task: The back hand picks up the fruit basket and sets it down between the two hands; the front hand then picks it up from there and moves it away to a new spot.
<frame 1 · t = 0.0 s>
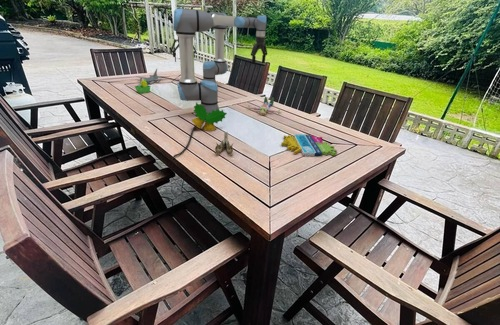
front hand: (184, 61, 211), 28 cm above the table, tool pointing down, fingers open, 13 cm apart
back hand: (258, 63, 227), 28 cm above the table, tool pointing down, fingers open, 13 cm apart
ornament: (209, 128, 165), on the table
colourful gloves pack: (306, 146, 151), on the table
airplane: (150, 83, 256), on the table
jawbone: (224, 151, 138), on the table
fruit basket: (143, 92, 227), on the table
toy: (265, 109, 205), on the table
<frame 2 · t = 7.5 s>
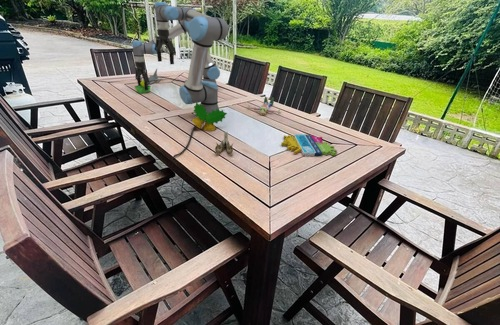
front hand: (165, 62, 184), 31 cm above the table, tool pointing down, fingers open, 13 cm apart
back hand: (143, 89, 226), 3 cm above the table, tool pointing down, fingers closed on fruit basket, 9 cm apart
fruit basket: (143, 92, 227), on the table, touching back hand
everything else where it was.
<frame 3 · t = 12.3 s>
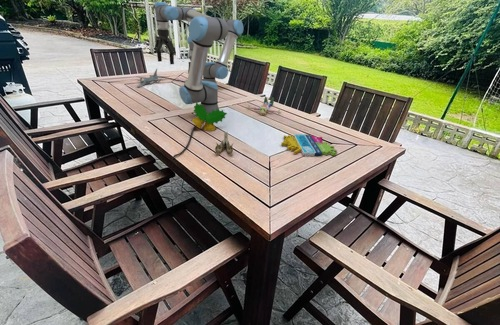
front hand: (165, 62, 184), 31 cm above the table, tool pointing down, fingers open, 13 cm apart
back hand: (195, 83, 228), 9 cm above the table, tool pointing down, fingers closed on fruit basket, 9 cm apart
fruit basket: (195, 86, 229), point 7 cm above the table, touching back hand
everything else where it was.
when the back hand's fingers open (4 cm above the table, at t = 16.9 s): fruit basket drops 1 cm, on the table.
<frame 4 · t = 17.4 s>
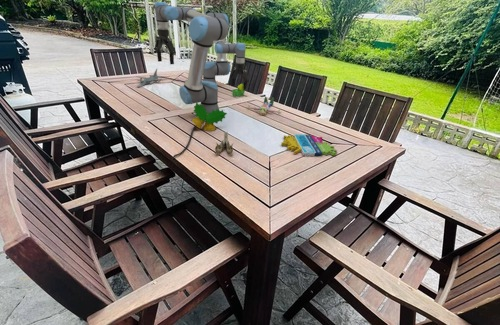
front hand: (165, 62, 184), 31 cm above the table, tool pointing down, fingers open, 13 cm apart
back hand: (238, 87, 234), 7 cm above the table, tool pointing down, fingers open, 13 cm apart
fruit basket: (238, 95, 237), on the table
everything else where it was.
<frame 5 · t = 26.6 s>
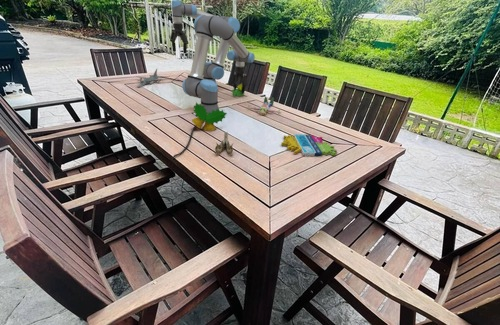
front hand: (238, 92, 236), 3 cm above the table, tool pointing down, fingers closed on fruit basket, 9 cm apart
back hand: (179, 52, 216), 34 cm above the table, tool pointing down, fingers open, 13 cm apart
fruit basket: (238, 95, 237), on the table, touching front hand
everything else where it was.
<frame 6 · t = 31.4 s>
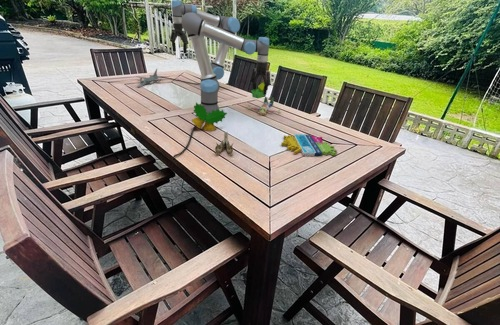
front hand: (259, 93, 195), 14 cm above the table, tool pointing down, fingers closed on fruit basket, 9 cm apart
back hand: (179, 52, 216), 34 cm above the table, tool pointing down, fingers open, 13 cm apart
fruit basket: (259, 97, 196), point 11 cm above the table, touching front hand
everything else where it was.
when the front hand's fingers open (4 cm above the table, at t = 36.2 s): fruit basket stays where it is, on the table.
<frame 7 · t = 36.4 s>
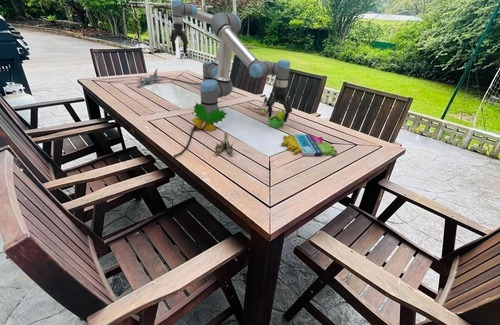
front hand: (277, 119, 174), 4 cm above the table, tool pointing down, fingers open, 11 cm apart
back hand: (179, 52, 216), 34 cm above the table, tool pointing down, fingers open, 13 cm apart
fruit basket: (276, 125, 176), on the table
everything else where it was.
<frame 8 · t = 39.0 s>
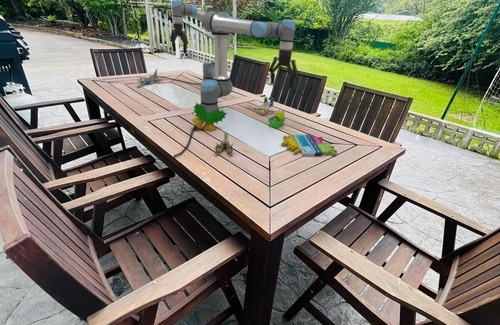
front hand: (281, 86, 164), 26 cm above the table, tool pointing down, fingers open, 13 cm apart
back hand: (179, 52, 216), 34 cm above the table, tool pointing down, fingers open, 13 cm apart
nothing on the table moved.
at the end: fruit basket inside the target area (0.2 cm from its centre), on the table; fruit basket tilted 0°; the two hands never held the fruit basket at the same time; the front hand is holding nothing; the back hand is holding nothing; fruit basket at rest at the end (0.0 cm/s) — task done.
